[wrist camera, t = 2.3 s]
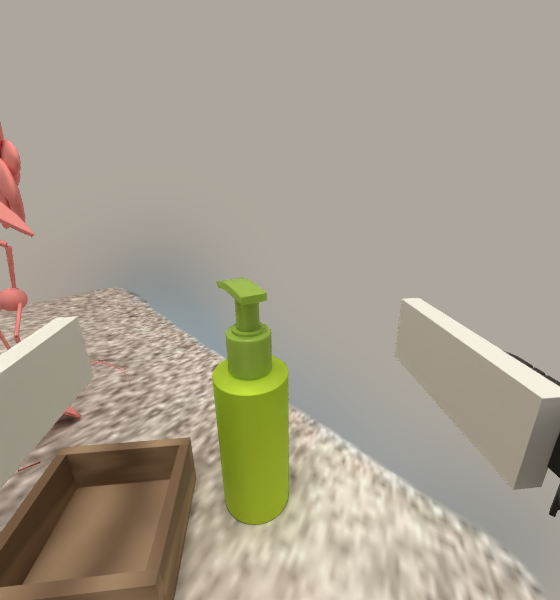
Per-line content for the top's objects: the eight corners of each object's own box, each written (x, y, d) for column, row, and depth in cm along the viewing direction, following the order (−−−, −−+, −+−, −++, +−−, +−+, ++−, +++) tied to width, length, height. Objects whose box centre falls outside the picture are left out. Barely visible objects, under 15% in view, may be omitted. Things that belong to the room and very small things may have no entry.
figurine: (25, 490, 29) (-143, 33, 17) (-18, 385, 45) (-121, 110, 33) (172, 408, 40) (129, 95, 28) (95, 347, 56) (48, 131, 44)
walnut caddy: (-23, 658, 18) (-55, 610, 17) (75, 488, 29) (61, 447, 27) (167, 633, 19) (155, 585, 18) (195, 477, 30) (190, 437, 28)
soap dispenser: (266, 449, 33) (259, 269, 26) (300, 503, 27) (303, 291, 20) (213, 473, 30) (190, 279, 23) (239, 538, 25) (218, 308, 18)
